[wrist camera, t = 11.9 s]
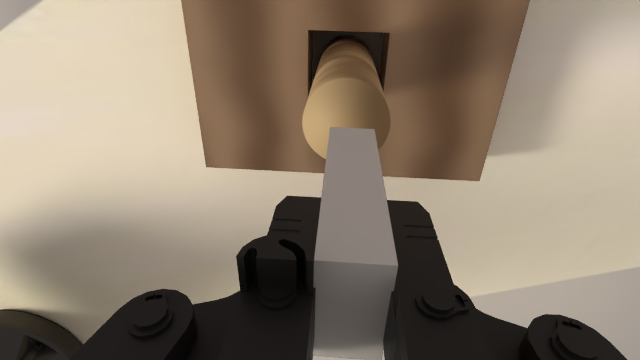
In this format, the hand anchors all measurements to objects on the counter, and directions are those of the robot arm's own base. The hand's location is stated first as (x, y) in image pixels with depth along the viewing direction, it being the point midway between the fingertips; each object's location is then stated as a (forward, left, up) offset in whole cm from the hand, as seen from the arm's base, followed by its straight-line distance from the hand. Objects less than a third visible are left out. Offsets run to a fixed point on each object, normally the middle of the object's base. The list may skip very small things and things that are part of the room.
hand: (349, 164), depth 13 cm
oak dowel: (0, 0, -18) cm, 18 cm away
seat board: (0, 0, -18) cm, 18 cm away
